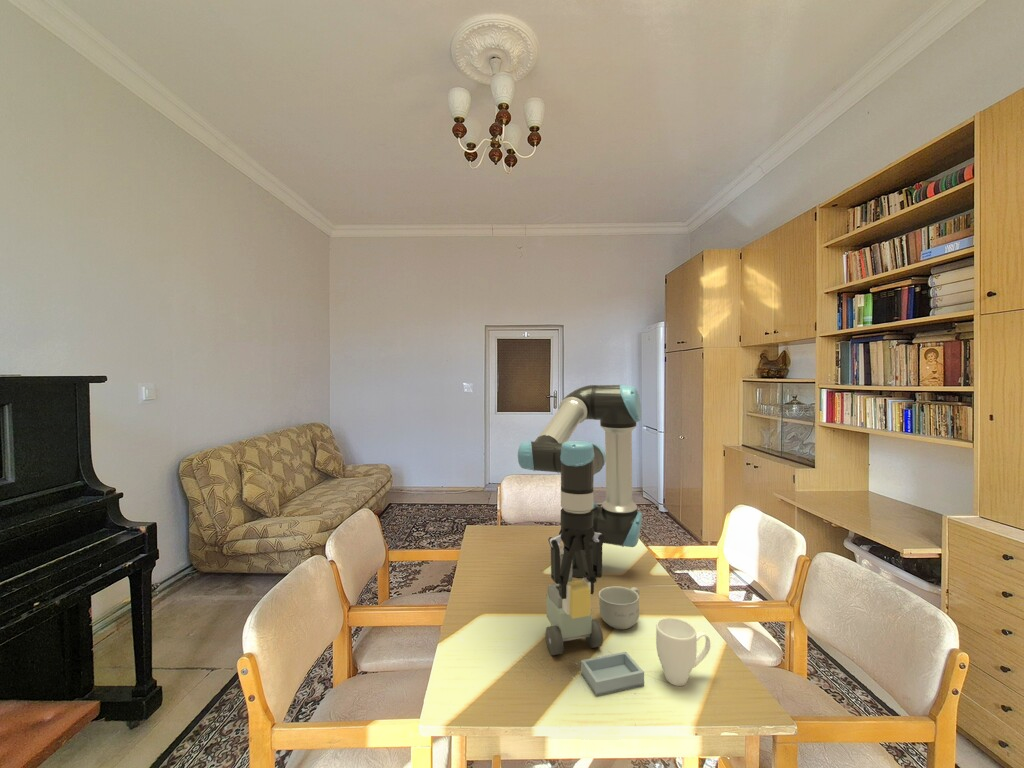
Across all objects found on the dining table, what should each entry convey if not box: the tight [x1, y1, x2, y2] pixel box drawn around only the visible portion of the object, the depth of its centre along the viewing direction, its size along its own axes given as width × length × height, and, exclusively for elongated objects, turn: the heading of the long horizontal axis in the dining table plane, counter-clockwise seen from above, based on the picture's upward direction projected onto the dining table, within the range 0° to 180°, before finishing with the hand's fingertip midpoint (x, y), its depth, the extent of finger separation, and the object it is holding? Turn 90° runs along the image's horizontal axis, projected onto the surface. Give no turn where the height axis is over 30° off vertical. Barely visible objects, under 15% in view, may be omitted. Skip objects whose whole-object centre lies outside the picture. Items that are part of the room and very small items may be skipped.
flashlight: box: [559, 545, 573, 582], centre depth 111 cm, size 4×4×13 cm
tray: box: [580, 651, 645, 698], centre depth 95 cm, size 11×7×3 cm, turn 106°
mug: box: [655, 617, 711, 687], centre depth 96 cm, size 12×8×11 cm
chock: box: [568, 579, 592, 619], centre depth 100 cm, size 4×5×6 cm
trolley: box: [545, 583, 604, 656], centre depth 109 cm, size 13×12×12 cm
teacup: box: [598, 585, 640, 630], centre depth 119 cm, size 14×11×8 cm
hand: (576, 609), depth 100 cm, fingers closed on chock, 4 cm apart
